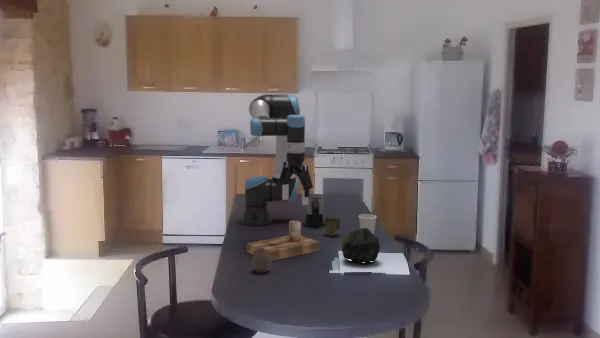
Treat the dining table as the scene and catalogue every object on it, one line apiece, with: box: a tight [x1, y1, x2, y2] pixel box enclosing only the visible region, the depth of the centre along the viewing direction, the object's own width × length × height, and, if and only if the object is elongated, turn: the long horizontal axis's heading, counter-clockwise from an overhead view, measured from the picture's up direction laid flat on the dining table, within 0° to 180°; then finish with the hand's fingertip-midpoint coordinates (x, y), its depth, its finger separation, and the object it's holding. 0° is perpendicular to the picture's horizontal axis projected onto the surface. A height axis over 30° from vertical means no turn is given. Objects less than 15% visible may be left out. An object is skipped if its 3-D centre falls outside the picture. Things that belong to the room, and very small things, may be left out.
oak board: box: [246, 235, 321, 262], centre depth 263 cm, size 16×26×4 cm, turn 128°
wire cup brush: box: [323, 216, 341, 237], centre depth 292 cm, size 8×7×8 cm
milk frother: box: [305, 194, 325, 228], centre depth 311 cm, size 14×16×15 cm
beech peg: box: [288, 220, 302, 242], centre depth 267 cm, size 5×5×12 cm
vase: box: [252, 248, 272, 274], centre depth 236 cm, size 7×7×9 cm
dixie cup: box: [357, 213, 377, 235], centre depth 289 cm, size 8×8×10 cm
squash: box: [341, 228, 381, 265], centre depth 249 cm, size 14×15×15 cm
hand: (295, 202), depth 265 cm, fingers open, 13 cm apart
